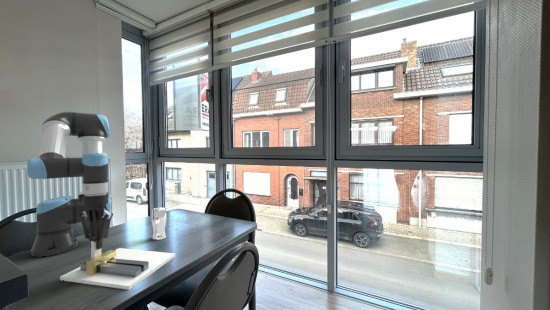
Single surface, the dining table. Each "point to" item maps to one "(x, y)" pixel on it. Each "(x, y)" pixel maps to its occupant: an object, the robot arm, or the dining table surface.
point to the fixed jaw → (115, 269)
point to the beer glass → (159, 223)
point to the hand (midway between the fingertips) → (96, 257)
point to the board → (118, 280)
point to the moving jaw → (130, 263)
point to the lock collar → (99, 261)
